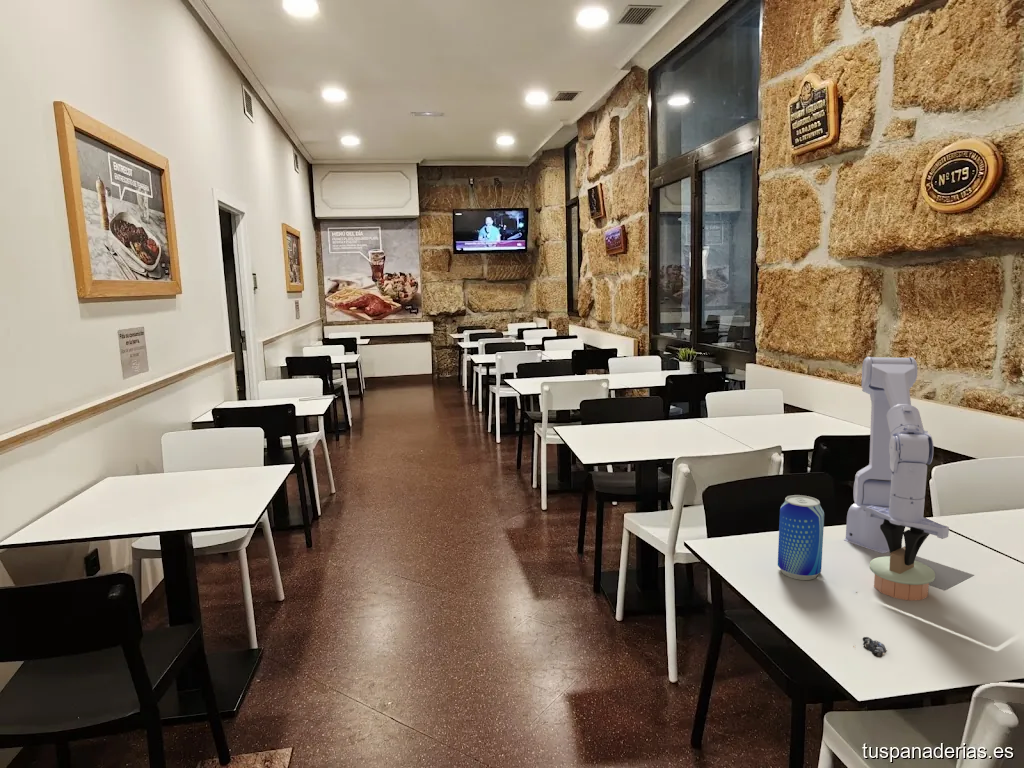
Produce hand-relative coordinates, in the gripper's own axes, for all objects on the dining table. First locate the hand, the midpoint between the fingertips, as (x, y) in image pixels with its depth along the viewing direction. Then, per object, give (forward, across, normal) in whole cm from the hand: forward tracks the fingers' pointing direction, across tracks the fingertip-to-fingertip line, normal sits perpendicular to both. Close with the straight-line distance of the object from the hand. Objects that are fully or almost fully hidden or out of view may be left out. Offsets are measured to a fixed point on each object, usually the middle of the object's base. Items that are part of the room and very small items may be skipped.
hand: (902, 561), depth 126 cm
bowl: (+6, 0, 0) cm, 6 cm away
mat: (+6, -1, +12) cm, 14 cm away
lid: (+2, 0, 0) cm, 2 cm away
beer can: (+6, -16, -9) cm, 19 cm away
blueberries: (+7, +8, -24) cm, 26 cm away
